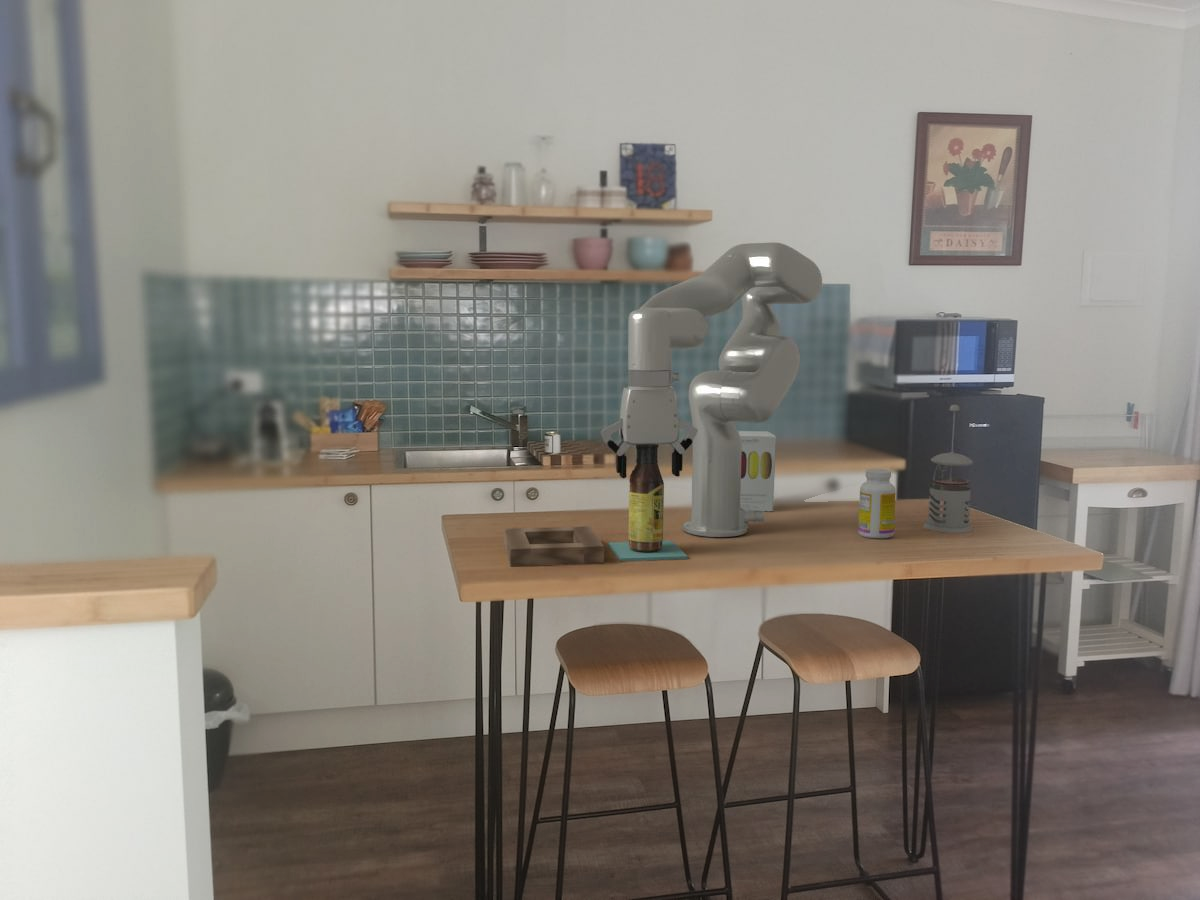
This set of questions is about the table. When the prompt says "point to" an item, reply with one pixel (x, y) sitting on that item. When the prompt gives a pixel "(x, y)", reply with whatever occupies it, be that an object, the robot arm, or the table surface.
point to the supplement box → (757, 470)
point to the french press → (949, 494)
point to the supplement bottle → (877, 505)
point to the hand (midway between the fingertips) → (649, 476)
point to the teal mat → (665, 553)
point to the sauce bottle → (646, 502)
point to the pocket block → (553, 546)
